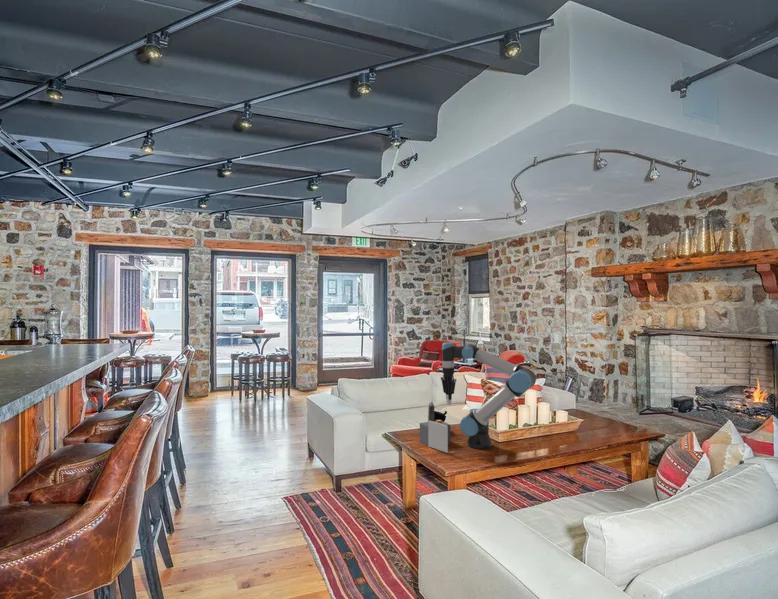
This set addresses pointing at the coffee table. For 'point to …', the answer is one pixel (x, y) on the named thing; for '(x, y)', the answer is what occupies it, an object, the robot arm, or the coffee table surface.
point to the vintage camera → (435, 414)
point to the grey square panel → (438, 436)
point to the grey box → (425, 431)
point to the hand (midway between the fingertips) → (448, 404)
